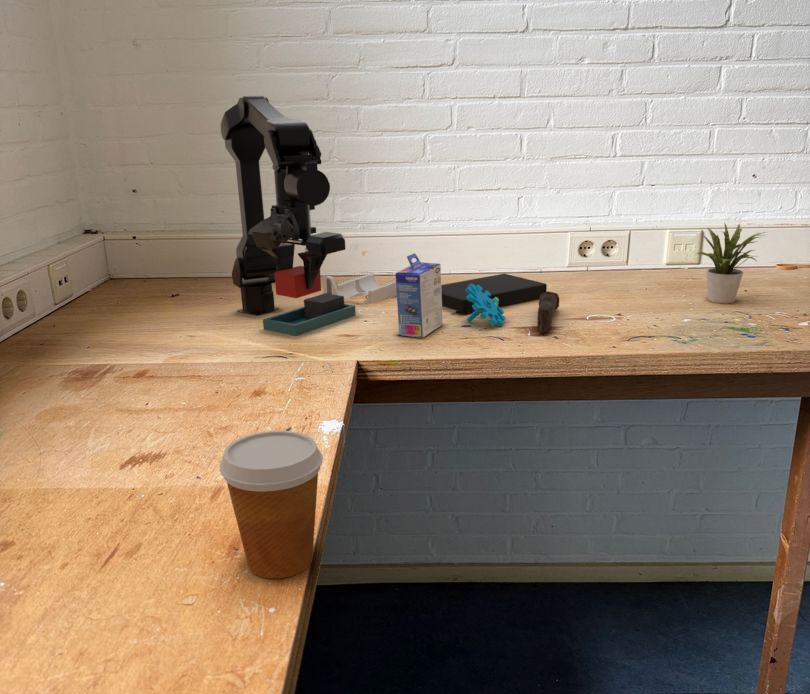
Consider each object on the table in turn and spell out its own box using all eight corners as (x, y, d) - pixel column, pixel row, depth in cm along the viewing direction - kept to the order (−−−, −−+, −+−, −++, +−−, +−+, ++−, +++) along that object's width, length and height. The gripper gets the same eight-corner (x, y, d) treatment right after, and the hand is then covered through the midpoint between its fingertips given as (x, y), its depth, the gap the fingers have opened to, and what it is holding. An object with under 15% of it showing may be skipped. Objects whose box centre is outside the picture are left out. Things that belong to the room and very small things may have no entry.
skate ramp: (372, 305, 171) (371, 282, 170) (323, 298, 178) (322, 276, 176) (409, 291, 183) (408, 269, 182) (361, 285, 190) (361, 264, 188)
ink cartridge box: (417, 322, 158) (416, 249, 153) (443, 325, 156) (442, 251, 151) (396, 335, 150) (393, 259, 145) (423, 338, 147) (421, 261, 142)
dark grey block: (305, 319, 160) (303, 299, 159) (326, 312, 165) (325, 293, 164) (323, 322, 158) (322, 302, 156) (344, 315, 162) (343, 296, 161)
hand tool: (539, 309, 165) (540, 287, 164) (559, 310, 164) (559, 288, 163) (527, 335, 148) (527, 311, 147) (549, 336, 147) (550, 311, 145)
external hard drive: (422, 301, 174) (422, 288, 172) (503, 286, 186) (503, 273, 185) (463, 314, 162) (463, 300, 161) (546, 297, 175) (547, 283, 174)
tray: (263, 331, 154) (262, 319, 153) (324, 311, 168) (323, 300, 167) (295, 338, 149) (294, 325, 149) (356, 317, 163) (355, 305, 162)
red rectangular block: (275, 294, 142) (274, 272, 141) (301, 287, 147) (299, 265, 146) (296, 298, 139) (294, 276, 138) (321, 290, 144) (320, 269, 143)
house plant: (763, 312, 159) (774, 230, 153) (689, 308, 163) (697, 227, 157) (758, 295, 171) (768, 219, 166) (689, 292, 176) (697, 217, 170)
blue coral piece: (494, 324, 149) (462, 283, 151) (472, 343, 152) (441, 302, 154) (517, 318, 158) (487, 279, 160) (496, 336, 161) (467, 298, 163)
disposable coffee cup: (211, 578, 75) (197, 463, 71) (262, 529, 84) (252, 423, 80) (300, 597, 72) (291, 478, 68) (345, 544, 80) (339, 435, 76)
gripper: (220, 200, 137) (228, 289, 142) (299, 209, 126) (305, 304, 132) (267, 192, 145) (273, 277, 151) (345, 200, 134) (349, 290, 140)
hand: (298, 287), depth 143 cm, fingers closed on red rectangular block, 5 cm apart
